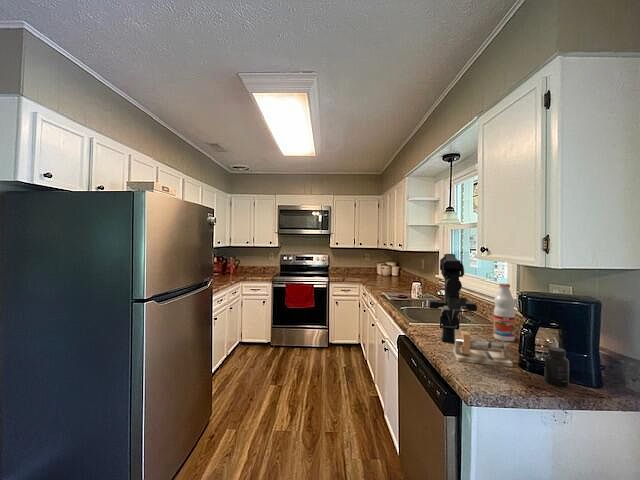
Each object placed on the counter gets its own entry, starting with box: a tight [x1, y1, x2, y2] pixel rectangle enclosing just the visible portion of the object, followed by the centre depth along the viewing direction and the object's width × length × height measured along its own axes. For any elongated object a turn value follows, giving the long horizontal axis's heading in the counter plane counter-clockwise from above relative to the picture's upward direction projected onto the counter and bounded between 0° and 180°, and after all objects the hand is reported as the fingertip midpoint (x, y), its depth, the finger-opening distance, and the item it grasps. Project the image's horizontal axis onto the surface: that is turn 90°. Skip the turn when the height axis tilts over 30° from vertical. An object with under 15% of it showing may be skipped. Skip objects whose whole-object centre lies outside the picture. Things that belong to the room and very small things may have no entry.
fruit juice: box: [493, 283, 516, 342], centre depth 159 cm, size 9×9×28 cm
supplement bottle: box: [543, 346, 570, 388], centre depth 108 cm, size 7×7×12 cm
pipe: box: [454, 338, 509, 350], centre depth 131 cm, size 20×3×3 cm, turn 75°
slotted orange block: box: [460, 330, 471, 354], centre depth 132 cm, size 2×7×8 cm, turn 165°
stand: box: [452, 337, 513, 368], centre depth 131 cm, size 20×12×7 cm, turn 75°
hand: (451, 325), depth 134 cm, fingers closed
